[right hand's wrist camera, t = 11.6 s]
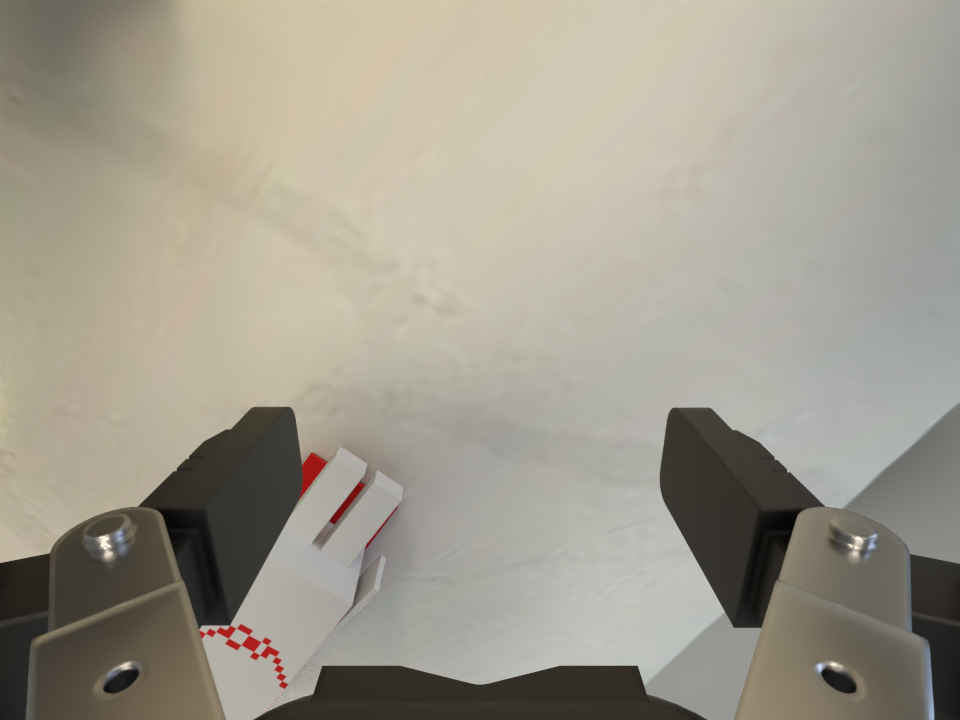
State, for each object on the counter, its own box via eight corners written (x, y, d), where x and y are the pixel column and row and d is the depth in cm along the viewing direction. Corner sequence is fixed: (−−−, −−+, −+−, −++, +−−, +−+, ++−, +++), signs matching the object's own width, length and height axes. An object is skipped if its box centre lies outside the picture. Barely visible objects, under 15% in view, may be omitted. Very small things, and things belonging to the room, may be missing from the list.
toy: (428, 550, 38) (205, 821, 42) (430, 469, 51) (260, 682, 55) (285, 460, 35) (62, 757, 39) (325, 399, 48) (155, 627, 52)
